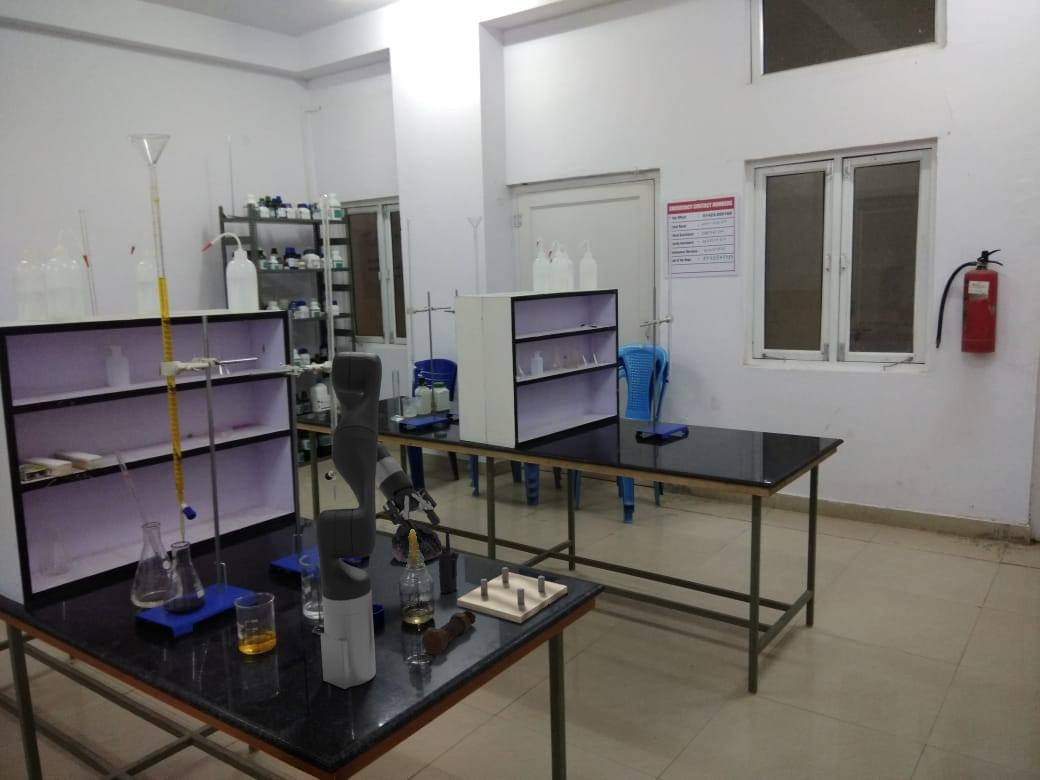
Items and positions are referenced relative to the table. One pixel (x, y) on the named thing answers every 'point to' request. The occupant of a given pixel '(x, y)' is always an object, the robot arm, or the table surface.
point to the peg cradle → (512, 596)
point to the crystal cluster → (425, 538)
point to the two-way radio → (448, 567)
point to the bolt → (447, 632)
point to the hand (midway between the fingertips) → (426, 529)
